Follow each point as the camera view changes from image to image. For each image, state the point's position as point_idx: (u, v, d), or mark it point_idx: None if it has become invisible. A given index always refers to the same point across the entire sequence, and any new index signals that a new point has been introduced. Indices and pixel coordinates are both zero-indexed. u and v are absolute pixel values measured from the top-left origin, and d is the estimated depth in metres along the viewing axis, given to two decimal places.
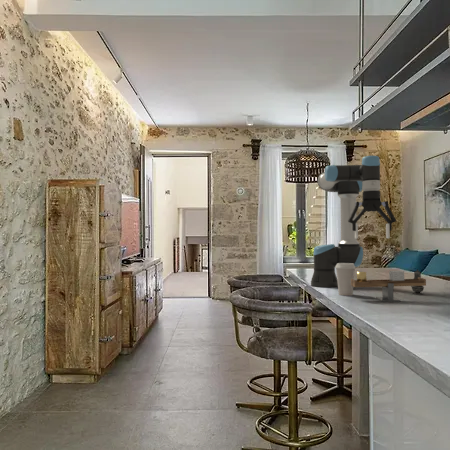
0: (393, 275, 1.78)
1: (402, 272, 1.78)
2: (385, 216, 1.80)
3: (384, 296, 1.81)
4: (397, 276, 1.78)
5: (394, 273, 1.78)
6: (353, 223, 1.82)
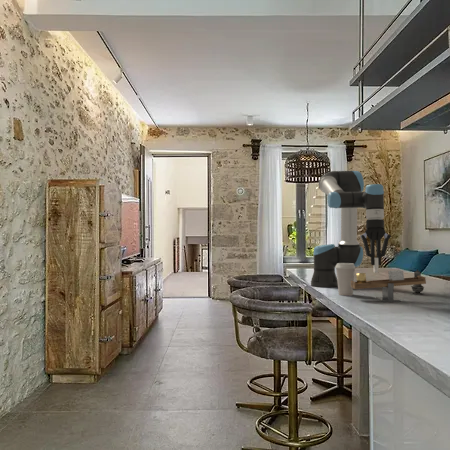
0: (393, 275, 1.78)
1: (401, 271, 1.78)
2: (379, 249, 1.80)
3: (384, 296, 1.81)
4: (396, 276, 1.78)
5: (393, 273, 1.78)
6: (373, 257, 1.80)
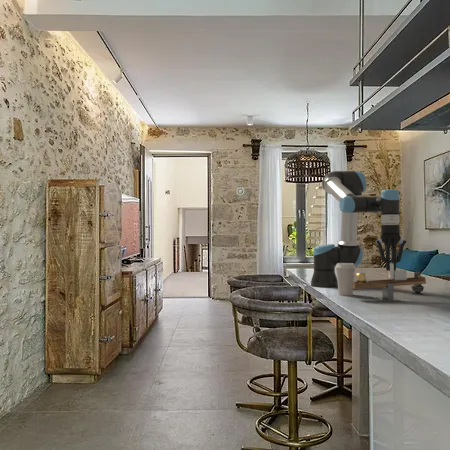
0: (396, 275, 1.78)
1: (404, 271, 1.78)
2: (394, 254, 1.79)
3: (384, 296, 1.81)
4: (399, 275, 1.78)
5: (396, 273, 1.78)
6: (388, 263, 1.80)
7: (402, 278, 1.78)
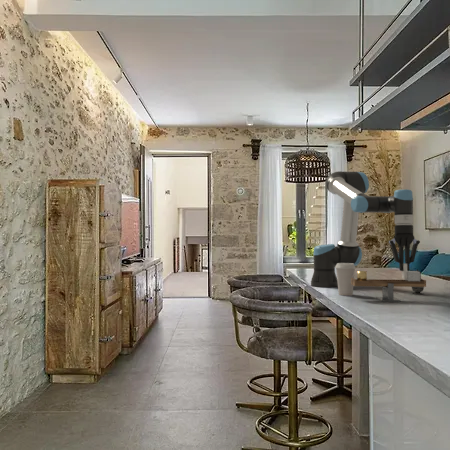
0: (409, 275, 1.78)
1: (418, 273, 1.77)
2: (408, 254, 1.79)
3: (384, 296, 1.81)
4: (413, 276, 1.77)
5: (410, 273, 1.77)
6: (401, 263, 1.79)
7: (415, 279, 1.77)
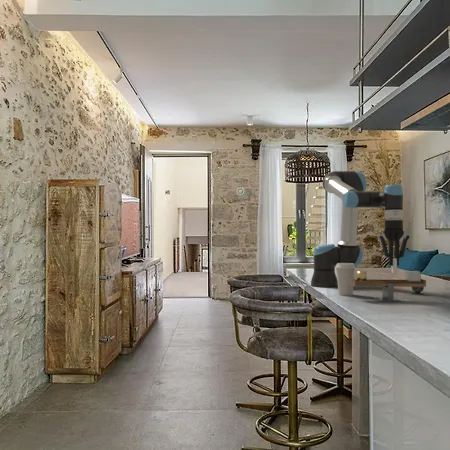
0: (409, 275, 1.77)
1: (418, 273, 1.77)
2: (397, 249, 1.79)
3: (384, 296, 1.81)
4: (413, 276, 1.77)
5: (410, 273, 1.77)
6: (391, 258, 1.80)
7: (416, 279, 1.77)
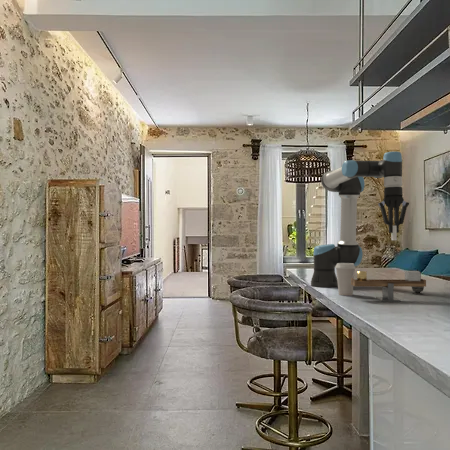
0: (409, 275, 1.78)
1: (418, 272, 1.77)
2: (397, 216, 1.80)
3: (384, 296, 1.81)
4: (413, 276, 1.77)
5: (410, 273, 1.77)
6: (391, 225, 1.80)
7: (415, 279, 1.77)
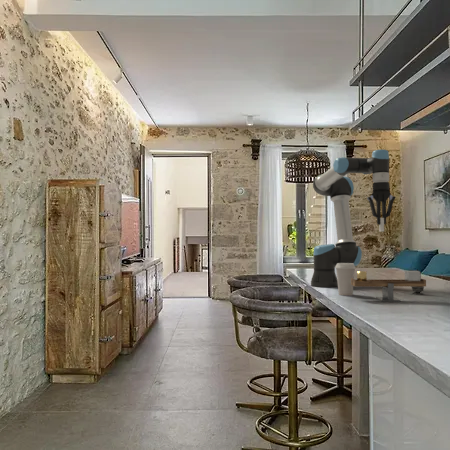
0: (409, 275, 1.78)
1: (418, 272, 1.77)
2: (384, 209, 1.95)
3: (384, 296, 1.81)
4: (413, 276, 1.77)
5: (410, 273, 1.77)
6: None
7: (415, 279, 1.77)
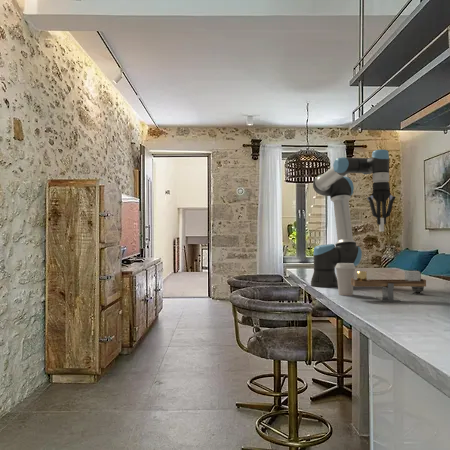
0: (409, 275, 1.78)
1: (418, 272, 1.77)
2: (384, 209, 1.95)
3: (384, 296, 1.81)
4: (413, 276, 1.77)
5: (410, 273, 1.77)
6: None
7: (415, 279, 1.77)
